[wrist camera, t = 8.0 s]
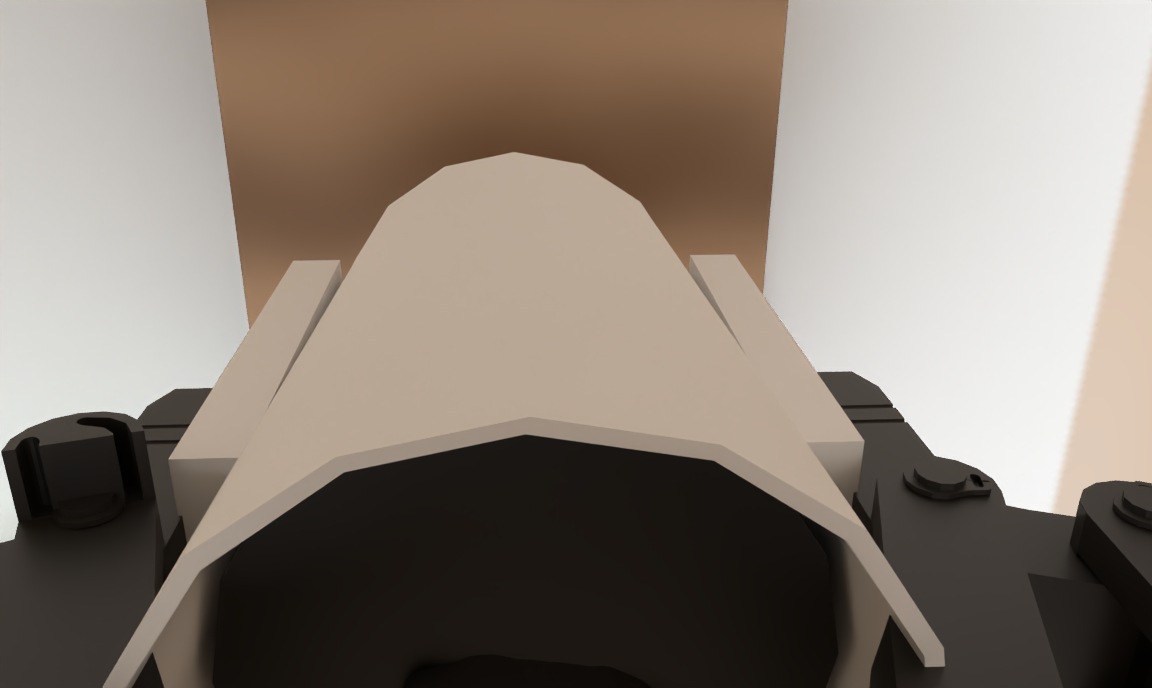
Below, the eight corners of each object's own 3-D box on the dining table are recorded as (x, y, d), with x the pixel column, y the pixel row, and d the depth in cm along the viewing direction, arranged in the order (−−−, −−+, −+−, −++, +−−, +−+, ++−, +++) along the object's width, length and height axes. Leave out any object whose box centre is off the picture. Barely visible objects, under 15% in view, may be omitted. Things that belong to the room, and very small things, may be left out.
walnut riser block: (228, -159, 26) (182, -172, 22) (760, -153, 27) (802, -163, 23) (293, 395, 32) (266, 458, 28) (721, 385, 33) (749, 444, 29)
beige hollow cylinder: (761, 407, 18) (1032, 919, 9) (426, 539, 19) (352, 1147, 9) (628, 56, 15) (818, 261, 6) (244, 223, 16) (-103, 634, 7)
